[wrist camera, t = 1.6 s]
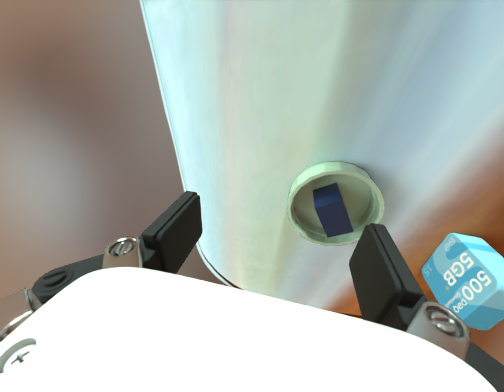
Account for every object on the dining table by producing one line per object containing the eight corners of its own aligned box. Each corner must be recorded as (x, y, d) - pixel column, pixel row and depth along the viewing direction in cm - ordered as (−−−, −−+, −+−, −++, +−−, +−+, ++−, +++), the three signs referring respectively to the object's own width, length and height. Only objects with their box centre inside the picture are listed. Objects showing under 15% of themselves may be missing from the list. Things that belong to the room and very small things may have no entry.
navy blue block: (336, 182, 38) (342, 199, 33) (347, 211, 41) (354, 232, 35) (312, 189, 40) (314, 207, 34) (324, 217, 42) (327, 237, 37)
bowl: (363, 146, 34) (371, 155, 30) (384, 220, 40) (393, 235, 36) (276, 179, 41) (273, 189, 37) (305, 238, 47) (305, 252, 43)
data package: (450, 229, 38) (503, 283, 28) (477, 233, 37) (542, 291, 27) (418, 270, 44) (452, 327, 34) (441, 275, 44) (483, 334, 34)
